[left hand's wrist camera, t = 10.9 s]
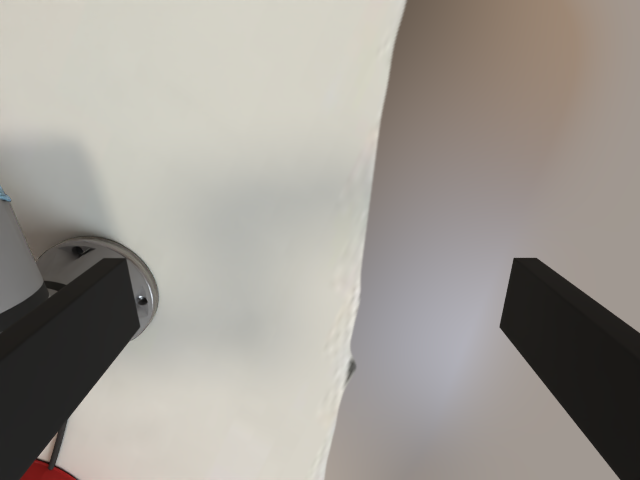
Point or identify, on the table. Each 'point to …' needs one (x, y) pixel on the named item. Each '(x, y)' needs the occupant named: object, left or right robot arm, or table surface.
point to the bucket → (45, 472)
